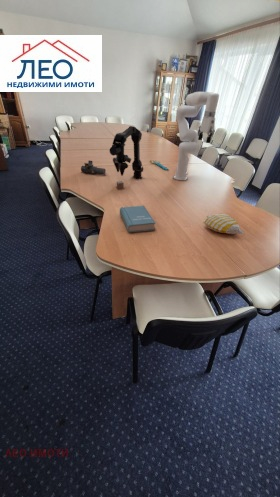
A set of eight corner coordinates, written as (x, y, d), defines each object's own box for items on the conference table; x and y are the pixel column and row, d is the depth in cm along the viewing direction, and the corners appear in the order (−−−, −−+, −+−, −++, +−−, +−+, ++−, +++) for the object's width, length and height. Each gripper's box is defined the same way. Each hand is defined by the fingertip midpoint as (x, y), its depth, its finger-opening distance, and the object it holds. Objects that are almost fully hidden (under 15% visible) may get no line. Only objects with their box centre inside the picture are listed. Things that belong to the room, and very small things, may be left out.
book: (154, 230, 131) (155, 222, 128) (128, 232, 126) (128, 225, 124) (143, 212, 148) (143, 205, 145) (119, 214, 144) (120, 207, 141)
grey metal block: (118, 189, 178) (118, 183, 175) (116, 187, 181) (116, 181, 178) (123, 188, 180) (123, 182, 177) (121, 186, 183) (121, 181, 180)
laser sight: (102, 176, 199) (102, 165, 193) (79, 173, 202) (78, 162, 196) (106, 173, 207) (106, 162, 201) (83, 170, 210) (82, 159, 204)
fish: (254, 225, 128) (232, 232, 118) (249, 236, 132) (228, 244, 123) (221, 208, 144) (199, 213, 134) (217, 218, 149) (196, 224, 139)
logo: (149, 161, 250) (149, 160, 250) (157, 160, 253) (157, 160, 252) (160, 170, 225) (160, 169, 224) (168, 170, 227) (168, 169, 227)
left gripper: (135, 155, 160) (134, 176, 170) (125, 149, 174) (125, 169, 183) (120, 156, 156) (120, 178, 166) (112, 149, 170) (112, 170, 179)
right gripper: (222, 116, 149) (215, 143, 159) (206, 113, 162) (201, 138, 172) (213, 116, 146) (207, 144, 157) (197, 112, 159) (193, 139, 169)
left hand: (120, 173), depth 173 cm, fingers open, 9 cm apart
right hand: (203, 141), depth 164 cm, fingers open, 9 cm apart
